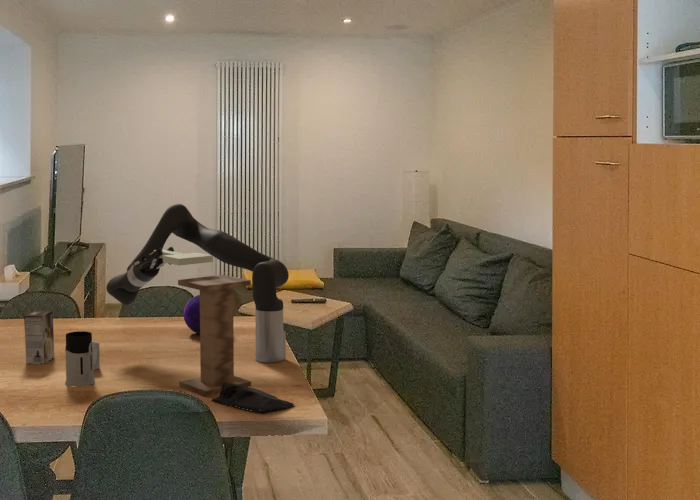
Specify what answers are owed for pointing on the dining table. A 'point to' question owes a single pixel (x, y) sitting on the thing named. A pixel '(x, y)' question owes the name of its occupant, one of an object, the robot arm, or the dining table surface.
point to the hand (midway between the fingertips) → (166, 250)
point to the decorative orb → (193, 314)
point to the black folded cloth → (250, 398)
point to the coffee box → (39, 337)
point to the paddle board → (185, 258)
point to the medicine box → (95, 355)
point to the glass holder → (80, 359)
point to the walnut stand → (215, 333)
